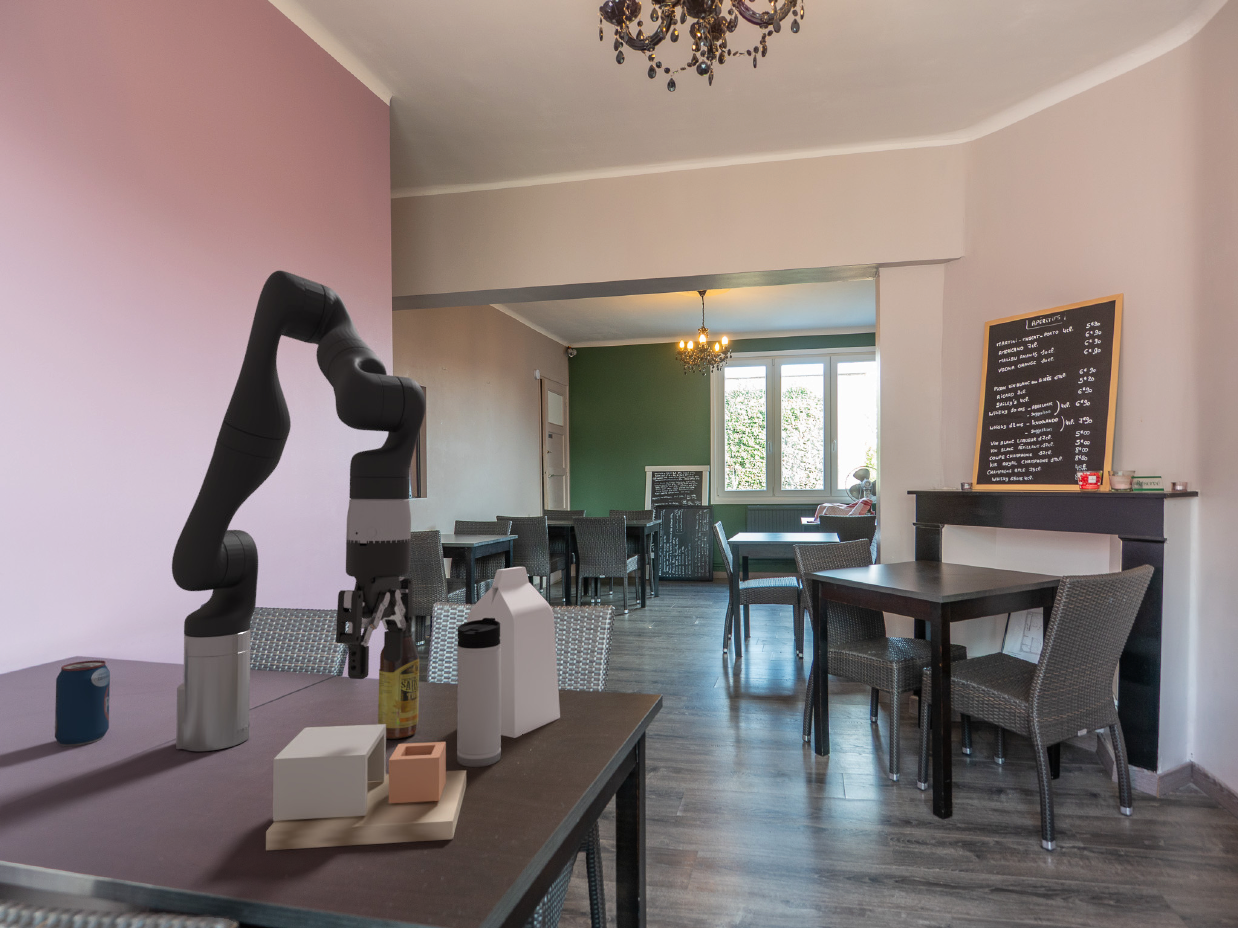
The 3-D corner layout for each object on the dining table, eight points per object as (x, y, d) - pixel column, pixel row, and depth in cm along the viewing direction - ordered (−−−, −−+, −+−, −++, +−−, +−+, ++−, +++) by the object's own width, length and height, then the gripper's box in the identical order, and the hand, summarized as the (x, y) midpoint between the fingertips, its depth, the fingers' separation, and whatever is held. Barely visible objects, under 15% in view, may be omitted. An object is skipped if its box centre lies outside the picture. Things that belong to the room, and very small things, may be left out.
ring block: (388, 803, 84) (388, 759, 85) (398, 784, 90) (398, 743, 90) (439, 800, 85) (439, 757, 85) (445, 781, 91) (445, 741, 91)
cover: (272, 820, 80) (273, 758, 81) (304, 781, 91) (305, 727, 92) (365, 815, 82) (365, 754, 82) (385, 777, 93) (385, 723, 93)
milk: (514, 737, 114) (514, 573, 115) (461, 725, 120) (461, 569, 121) (560, 717, 124) (559, 566, 126) (509, 707, 131) (508, 563, 132)
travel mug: (509, 753, 107) (509, 618, 108) (487, 769, 101) (487, 626, 102) (472, 749, 109) (472, 616, 110) (448, 764, 103) (448, 623, 104)
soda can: (118, 736, 117) (119, 661, 117) (70, 750, 110) (72, 671, 111) (92, 730, 119) (94, 657, 120) (44, 743, 113) (46, 666, 114)
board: (265, 850, 78) (266, 789, 79) (309, 793, 93) (310, 742, 94) (452, 838, 81) (452, 780, 81) (466, 785, 96) (466, 735, 96)
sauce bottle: (406, 741, 113) (407, 614, 113) (370, 739, 114) (370, 613, 115) (425, 728, 119) (426, 607, 120) (391, 726, 120) (391, 606, 121)
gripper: (379, 532, 96) (377, 654, 95) (317, 539, 82) (314, 682, 81) (432, 533, 95) (430, 657, 94) (378, 540, 81) (375, 686, 80)
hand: (376, 668), depth 88 cm, fingers open, 8 cm apart
